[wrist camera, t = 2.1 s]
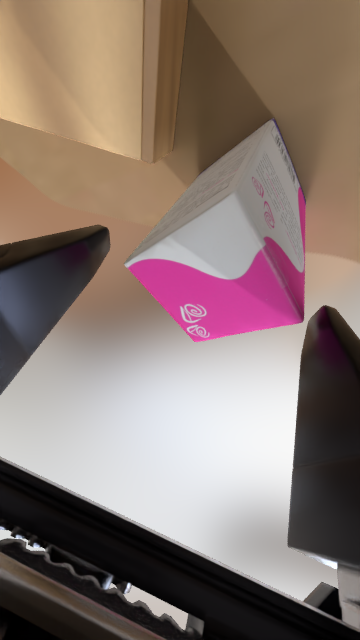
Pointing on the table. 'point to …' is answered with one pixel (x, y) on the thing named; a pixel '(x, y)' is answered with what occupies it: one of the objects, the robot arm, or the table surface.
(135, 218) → the table surface
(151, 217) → the table surface
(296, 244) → the supplement box
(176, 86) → the shelf
